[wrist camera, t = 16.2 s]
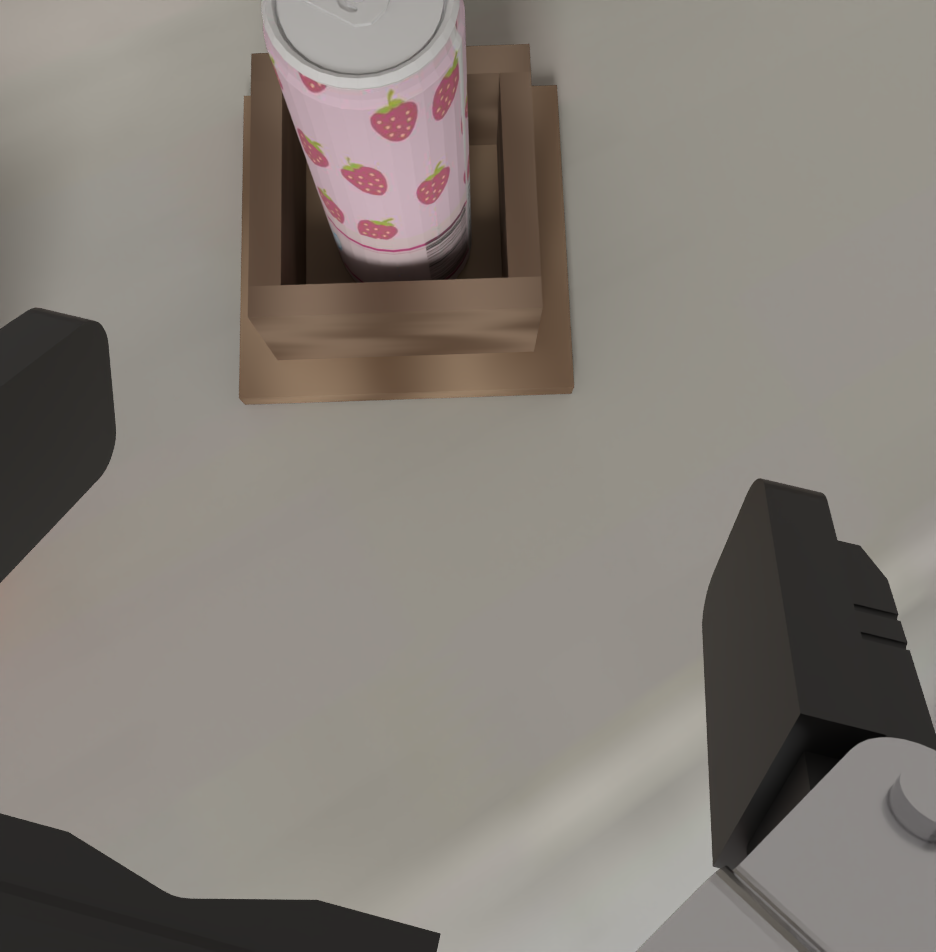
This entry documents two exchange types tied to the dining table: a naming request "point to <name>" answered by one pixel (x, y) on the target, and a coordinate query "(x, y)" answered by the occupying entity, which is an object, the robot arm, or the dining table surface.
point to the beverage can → (381, 127)
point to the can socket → (409, 302)
